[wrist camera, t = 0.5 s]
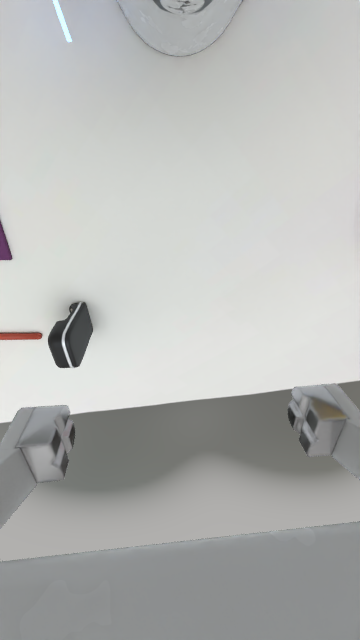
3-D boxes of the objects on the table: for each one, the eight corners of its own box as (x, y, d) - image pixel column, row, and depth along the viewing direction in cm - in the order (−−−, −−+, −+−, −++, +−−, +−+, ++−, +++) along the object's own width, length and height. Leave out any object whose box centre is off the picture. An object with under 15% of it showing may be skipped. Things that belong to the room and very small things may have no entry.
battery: (65, 301, 51) (41, 339, 41) (85, 300, 51) (66, 338, 41) (74, 332, 55) (54, 373, 45) (94, 331, 55) (78, 372, 45)
